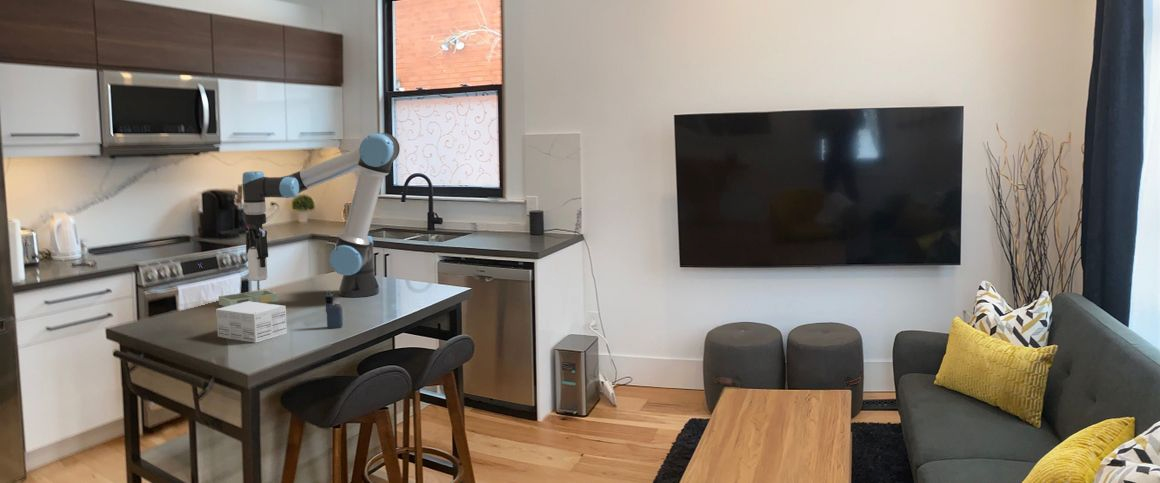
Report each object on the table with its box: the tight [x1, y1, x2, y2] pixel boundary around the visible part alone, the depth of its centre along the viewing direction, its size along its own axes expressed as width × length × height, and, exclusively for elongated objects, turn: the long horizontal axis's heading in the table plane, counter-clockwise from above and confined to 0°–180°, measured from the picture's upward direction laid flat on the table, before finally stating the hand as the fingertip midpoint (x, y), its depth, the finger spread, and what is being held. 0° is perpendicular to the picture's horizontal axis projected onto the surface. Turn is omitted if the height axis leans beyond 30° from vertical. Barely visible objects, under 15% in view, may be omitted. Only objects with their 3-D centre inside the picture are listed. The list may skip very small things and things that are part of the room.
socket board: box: [218, 288, 279, 307], centre depth 302 cm, size 10×18×3 cm, turn 135°
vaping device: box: [324, 291, 344, 329], centre depth 267 cm, size 3×5×12 cm, turn 95°
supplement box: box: [215, 301, 288, 344], centre depth 258 cm, size 17×13×9 cm
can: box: [247, 247, 268, 282], centre depth 304 cm, size 6×6×12 cm
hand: (258, 274), depth 304 cm, fingers closed on can, 6 cm apart
